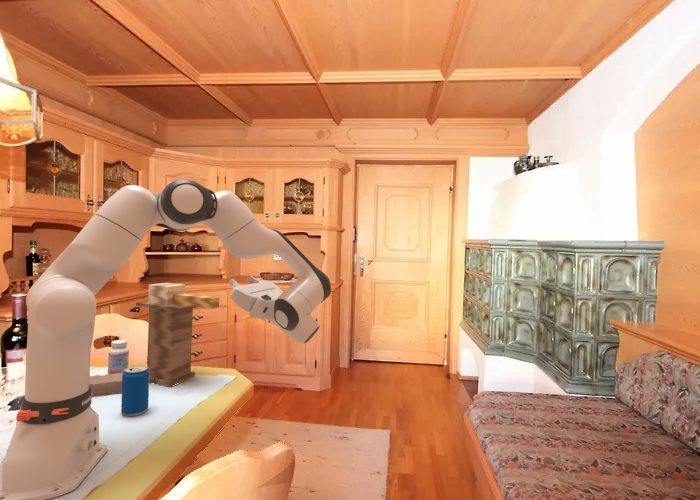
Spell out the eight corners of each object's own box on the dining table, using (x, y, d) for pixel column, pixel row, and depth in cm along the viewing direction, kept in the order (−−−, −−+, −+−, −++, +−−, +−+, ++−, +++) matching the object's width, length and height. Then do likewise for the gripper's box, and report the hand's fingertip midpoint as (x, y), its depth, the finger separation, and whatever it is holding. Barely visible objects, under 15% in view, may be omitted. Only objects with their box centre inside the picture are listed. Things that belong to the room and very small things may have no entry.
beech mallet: (223, 306, 129) (224, 288, 128) (207, 309, 121) (208, 290, 121) (166, 299, 136) (167, 282, 136) (148, 302, 129) (148, 284, 129)
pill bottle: (103, 376, 131) (104, 343, 131) (115, 370, 137) (116, 338, 137) (121, 377, 131) (122, 344, 131) (131, 371, 137) (132, 339, 137)
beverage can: (135, 405, 110) (137, 363, 110) (153, 409, 108) (154, 366, 108) (115, 414, 104) (116, 370, 104) (133, 419, 102) (134, 374, 102)
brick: (131, 383, 127) (131, 369, 126) (131, 392, 119) (131, 377, 119) (69, 391, 119) (69, 376, 118) (65, 402, 111) (65, 385, 111)
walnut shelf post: (202, 377, 134) (205, 302, 133) (176, 389, 123) (179, 307, 122) (162, 369, 140) (164, 298, 139) (133, 380, 128) (136, 302, 128)
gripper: (293, 292, 127) (262, 268, 131) (259, 300, 108) (224, 273, 112) (284, 307, 128) (253, 284, 132) (249, 319, 109) (214, 291, 113)
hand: (239, 279), depth 122 cm, fingers open, 8 cm apart
